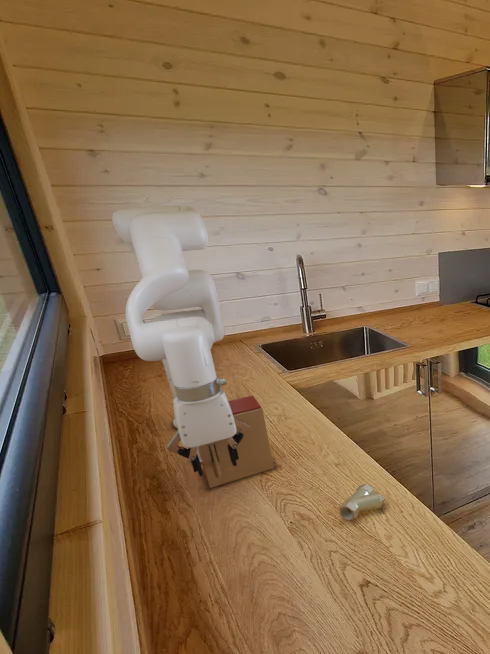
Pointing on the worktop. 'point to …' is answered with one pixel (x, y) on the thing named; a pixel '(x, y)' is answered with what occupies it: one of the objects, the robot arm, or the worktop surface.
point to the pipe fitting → (361, 502)
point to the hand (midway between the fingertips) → (217, 467)
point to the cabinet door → (239, 452)
